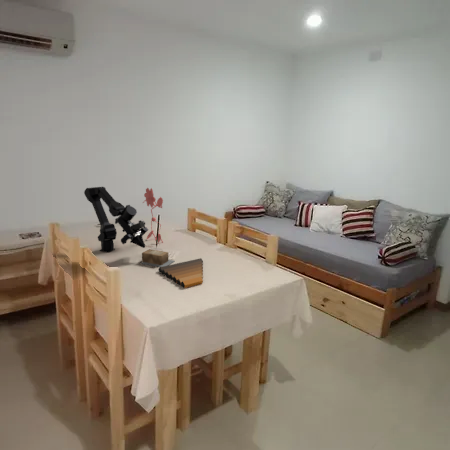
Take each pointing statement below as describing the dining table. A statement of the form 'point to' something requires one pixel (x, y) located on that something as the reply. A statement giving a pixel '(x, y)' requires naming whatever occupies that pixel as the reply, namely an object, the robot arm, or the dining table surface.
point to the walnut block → (155, 257)
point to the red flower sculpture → (151, 200)
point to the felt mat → (159, 265)
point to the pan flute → (185, 272)
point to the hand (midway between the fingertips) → (144, 247)
